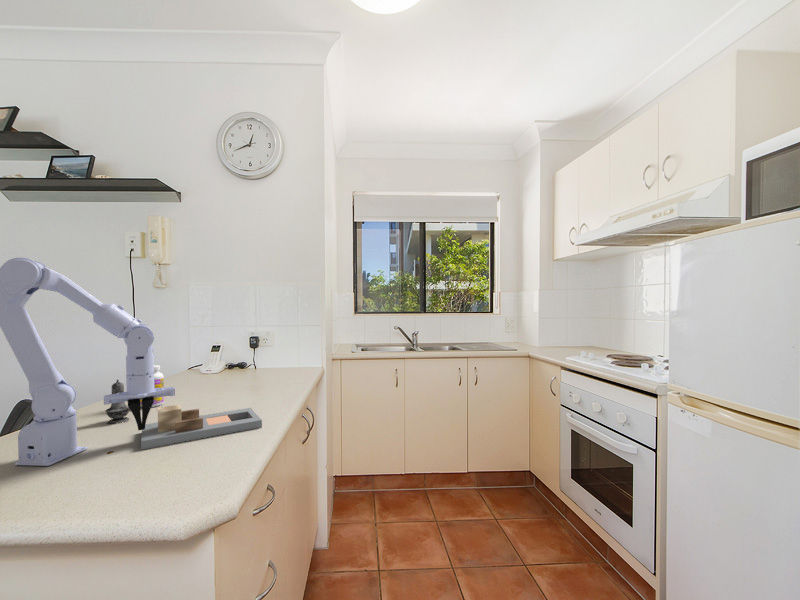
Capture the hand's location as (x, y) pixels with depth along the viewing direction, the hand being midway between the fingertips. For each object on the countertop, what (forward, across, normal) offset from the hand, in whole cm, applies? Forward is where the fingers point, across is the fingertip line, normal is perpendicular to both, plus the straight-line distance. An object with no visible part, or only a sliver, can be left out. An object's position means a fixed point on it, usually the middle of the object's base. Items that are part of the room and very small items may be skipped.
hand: (141, 428), depth 96 cm
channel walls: (+1, +10, 0) cm, 10 cm away
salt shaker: (+3, -6, +23) cm, 24 cm away
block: (+1, +6, 0) cm, 6 cm away
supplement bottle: (+3, +2, +36) cm, 37 cm away
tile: (+3, +17, 0) cm, 18 cm away
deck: (+3, +14, 0) cm, 14 cm away
